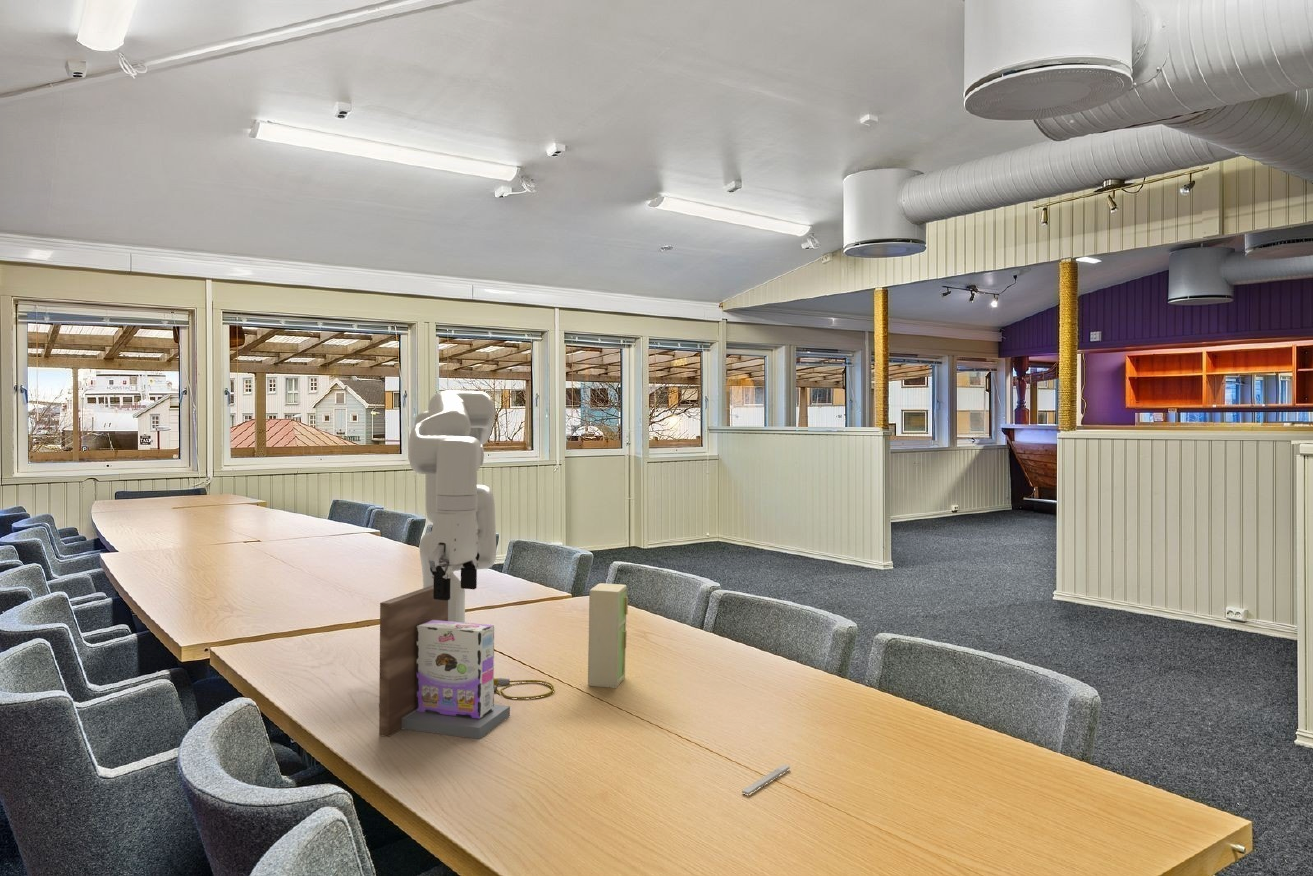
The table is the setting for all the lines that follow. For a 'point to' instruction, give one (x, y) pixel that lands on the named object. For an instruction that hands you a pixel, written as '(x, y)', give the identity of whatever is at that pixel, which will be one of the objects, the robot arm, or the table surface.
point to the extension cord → (507, 681)
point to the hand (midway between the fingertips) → (455, 593)
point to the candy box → (455, 668)
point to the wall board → (402, 653)
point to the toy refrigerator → (607, 634)
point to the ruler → (766, 779)
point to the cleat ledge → (456, 723)
